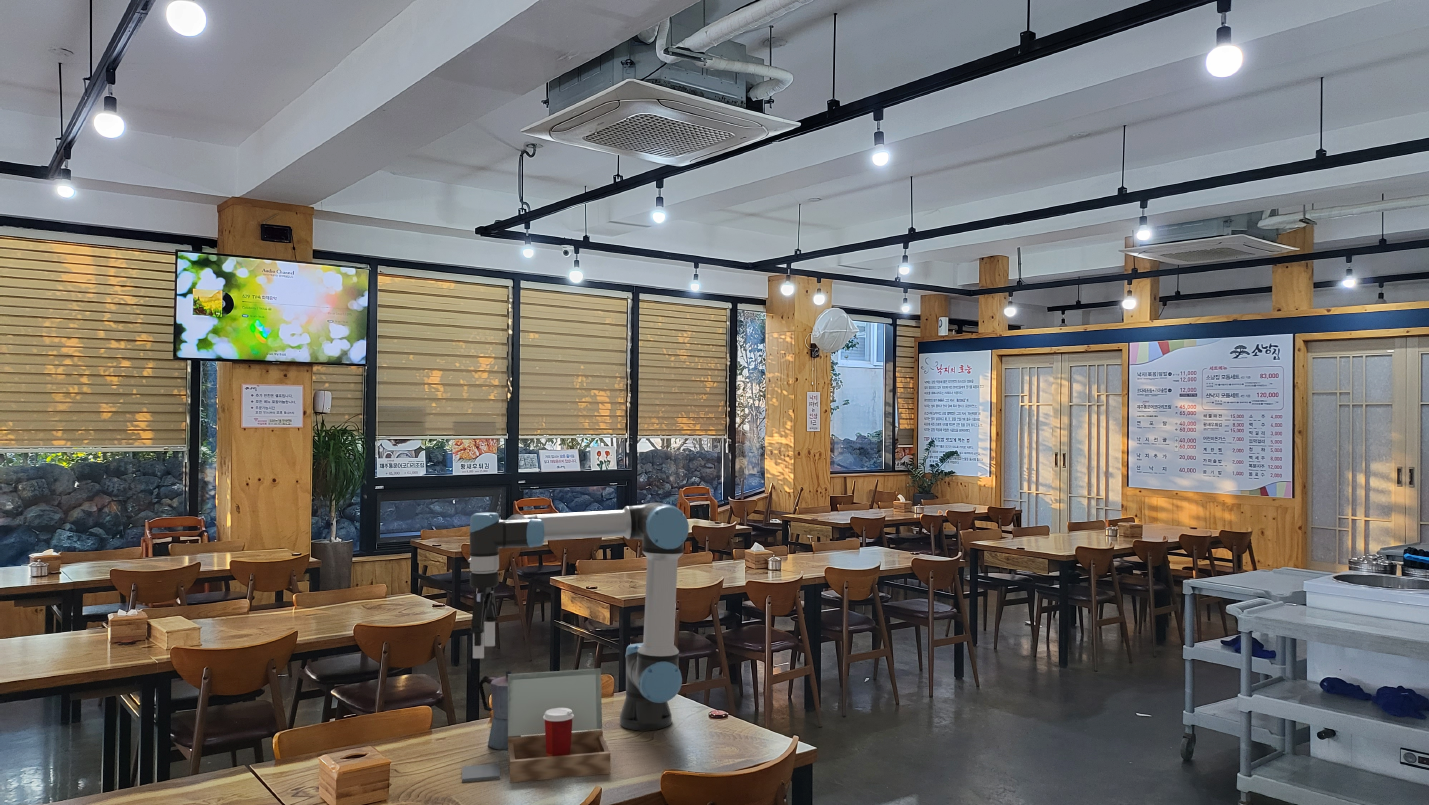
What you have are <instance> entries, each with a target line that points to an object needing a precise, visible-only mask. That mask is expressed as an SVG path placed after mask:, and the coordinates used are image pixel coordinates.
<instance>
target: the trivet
mask: <svg viewBox="0 0 1429 805" xmlns="http://www.w3.org/2000/svg"><path fill="white" fill-rule="evenodd" d="M500 770H501V769H500V763H499V762H497V763H486V764H485V763H484V764H473V765H462V768H461V773H462V774H461V783H470V782H481V781H493V780H500V779H501V773H500V772H501V771H500Z"/></svg>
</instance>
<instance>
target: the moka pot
mask: <svg viewBox="0 0 1429 805" xmlns="http://www.w3.org/2000/svg"><path fill="white" fill-rule="evenodd" d="M508 674H512V671H510V670H507V671H505V676H499V677H495V676H494V677H493V676H491V677H490V676H487V675H484V677H482V679H480V681H479V682H478V690H479V694H480V698H481V700H482V705H483V710H484V711H487V712H492V720H491V727H490V730H489V736H488V741H487V742H488V743H487V745H488V746H489V747H490V748H491V749H494V750H495V749H496V750H505V751H506V750H508ZM485 683H486V684H487V685H490V694H491V707H490V706H488V704H487V700H486V695H485V688H484V686H483V685H484V684H485ZM512 737H522V735H520V736H512Z"/></svg>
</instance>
